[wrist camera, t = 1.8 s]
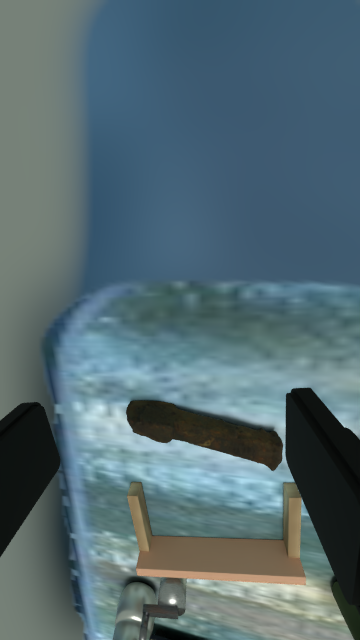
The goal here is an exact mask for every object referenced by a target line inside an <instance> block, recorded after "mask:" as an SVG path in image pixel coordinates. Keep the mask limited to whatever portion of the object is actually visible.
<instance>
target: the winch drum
mask: <svg viewBox="0 0 360 640" xmlns="http://www.w3.org/2000/svg"><path fill="white" fill-rule="evenodd" d="M186 583H187V578H171V577H161V582H160V590H159V597H158V605H156V604H144V605H143V610H142V613H143V615H142V621H141V627H140V633H139V639H138V640H146V637H147V630H148V623H149V617H158V618H170V619H178V616H181V615H182V614H184V612H185V603H186Z"/></svg>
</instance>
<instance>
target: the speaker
mask: <svg viewBox="0 0 360 640" xmlns="http://www.w3.org/2000/svg"><path fill="white" fill-rule="evenodd" d="M150 640H170V639H167V638H165V631H163V630H162V629H157V630H156V632H155V635H154V634H151V636H150Z"/></svg>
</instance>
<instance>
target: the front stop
mask: <svg viewBox="0 0 360 640" xmlns="http://www.w3.org/2000/svg"><path fill="white" fill-rule="evenodd" d="M136 570H137V575H138V576H154V577H171V578H189V579H207V580H224V581H242V582H260V583H278V584H295V585H306V576H305V573H304V570H303V567H302V564H301V561H300V558H289V557H288V555H287V551H286V548H285V544H284V541H283V540H261V539H232V538H202V537H173V536H152V540H151V545H150V551H140V552H139V557H138V562H137V567H136Z"/></svg>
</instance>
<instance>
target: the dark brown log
mask: <svg viewBox="0 0 360 640" xmlns="http://www.w3.org/2000/svg"><path fill="white" fill-rule="evenodd" d="M126 414H127V421H128V423H129V425H130V426H131V428H132V429H133V432H134V433H137V434H139V435H141V436H146V437H148V438H150V439H153V440H155V441H157V442H161V443H168V442H170V441H171V440H172V439H174V440H180V441H185V442H188V443H191V444H194V445H197V446H201V447H205V448H209V449H211V450H216V451H220V452H223V453H226V454H230V455H233V456H236V457H241V458H244V459H248V460H251V461H255V462H257V463H262V464H265V465H266V466H268V467H269V468H270V469H271V470H272V471H274V470H275V469H276V468H277V467H278V465H279V464H280V463H281V461H282V450H283V443H282V440H281V438H280V437H279V436H278V434H277V432H275V431H272V432H266V431H265V430H264V429H262V428H260V429H259V430H255V429H251V428H248V427H245V426H238V425H235V424H231V423H228V422H224V421H223V420H222V419H220V420H217V419H214V418H210V417H206V416H202V415H198V414H194V413H191V412H187V411H183V410H180V409H178V408H177V407H176V406H175V405H174V404H172V403H167V402H161V401H131V402H130V403H129V405H128V407H127V410H126Z"/></svg>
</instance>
